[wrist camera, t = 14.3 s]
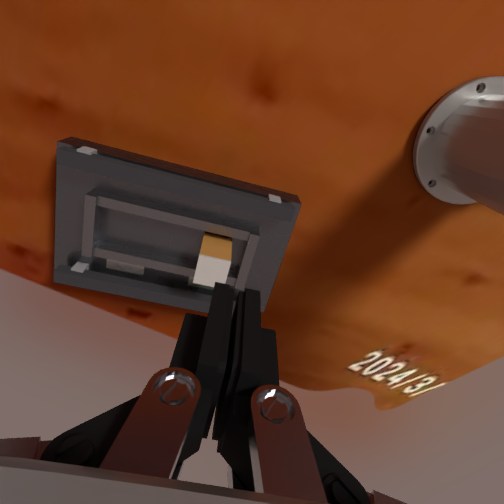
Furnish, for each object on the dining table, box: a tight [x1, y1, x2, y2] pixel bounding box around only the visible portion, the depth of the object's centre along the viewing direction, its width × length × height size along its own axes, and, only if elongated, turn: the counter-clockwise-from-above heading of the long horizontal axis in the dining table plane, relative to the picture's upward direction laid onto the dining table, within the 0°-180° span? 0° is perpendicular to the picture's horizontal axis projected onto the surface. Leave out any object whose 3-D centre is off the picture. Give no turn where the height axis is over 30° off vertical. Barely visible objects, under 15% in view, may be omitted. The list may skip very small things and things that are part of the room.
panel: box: [54, 137, 302, 312], centre depth 37 cm, size 24×14×5 cm, turn 75°
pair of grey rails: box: [53, 146, 296, 315], centre depth 36 cm, size 22×14×2 cm, turn 75°
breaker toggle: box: [193, 233, 232, 287], centre depth 35 cm, size 3×3×5 cm
